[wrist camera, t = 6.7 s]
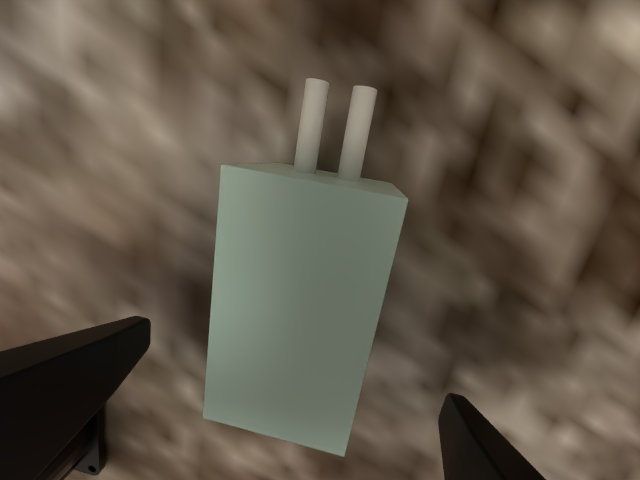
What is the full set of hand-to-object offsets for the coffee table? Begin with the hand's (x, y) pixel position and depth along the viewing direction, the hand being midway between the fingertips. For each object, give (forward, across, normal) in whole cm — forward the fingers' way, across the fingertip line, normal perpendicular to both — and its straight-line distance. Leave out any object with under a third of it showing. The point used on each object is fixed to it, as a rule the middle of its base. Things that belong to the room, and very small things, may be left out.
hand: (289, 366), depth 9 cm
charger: (+5, 0, -3) cm, 5 cm away
